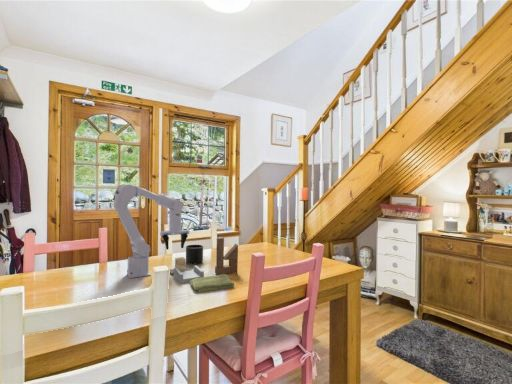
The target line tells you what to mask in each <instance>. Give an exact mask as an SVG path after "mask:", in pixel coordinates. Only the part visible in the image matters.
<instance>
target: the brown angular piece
mask: <svg viewBox="0 0 512 384" xmlns="http://www.w3.org/2000/svg"><path fill="white" fill-rule="evenodd" d="M238 258H239V245H238V244H237V243H234V245H233V246H231V248H230V249H229V250H228V251H227V253H225V237H223V236H219V237H217V238H216V259H215V260H216V262H215V264H216V265H215V267H214V273H215V274H216V276H217V275H221V274H225V275H230V274H231V275H232V274H237V273H238V266H239V265H238V264H239V263H238ZM224 261H228V265H226V264H225V265H224V263H225V262H224Z"/></svg>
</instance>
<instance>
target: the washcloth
mask: <svg viewBox="0 0 512 384" xmlns="http://www.w3.org/2000/svg"><path fill="white" fill-rule="evenodd" d="M189 283H190V285H191V286H192V289H194V291H197V292H198V293H205V292H212V291H219V290H224V289H225V290H226V289H231V288H234V286H235V282H234V281H233V280H231V279H230V278H229V276H228V274H221V275H217V274H216V275H208V276H204V277H201V278H195V279H193V280H191V281H190V282H189Z"/></svg>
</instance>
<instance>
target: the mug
mask: <svg viewBox="0 0 512 384" xmlns="http://www.w3.org/2000/svg"><path fill="white" fill-rule="evenodd" d="M203 262H204V245H201V244H189V245H186V247H185V264H188V265H200V264H202V263H203Z"/></svg>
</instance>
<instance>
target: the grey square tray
mask: <svg viewBox="0 0 512 384" xmlns="http://www.w3.org/2000/svg"><path fill="white" fill-rule="evenodd" d="M173 269H174V275H173V277H174V279H175V280H176V281H177V282H178V283H179V284H186V283H191V282H190V281H191V280H193V279H195V278H201V277H205V271H204V270H203V269H201V268H200V267H199V266H198V265H197V264H194V265H193V269H190V270H191V271H183V272H180V271H179V270H178V269H177V268H175V267H174V268H173Z"/></svg>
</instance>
